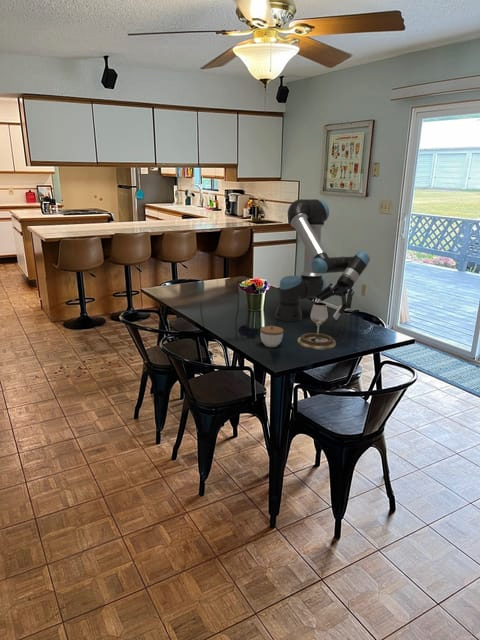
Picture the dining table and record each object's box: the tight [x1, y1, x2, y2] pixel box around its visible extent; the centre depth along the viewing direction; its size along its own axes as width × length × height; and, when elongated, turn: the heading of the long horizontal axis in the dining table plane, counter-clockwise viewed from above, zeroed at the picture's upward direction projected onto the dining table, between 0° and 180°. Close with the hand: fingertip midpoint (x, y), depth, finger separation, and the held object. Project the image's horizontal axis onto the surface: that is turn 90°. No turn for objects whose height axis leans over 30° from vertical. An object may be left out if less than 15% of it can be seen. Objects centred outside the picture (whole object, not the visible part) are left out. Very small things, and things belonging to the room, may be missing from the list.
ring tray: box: [297, 332, 337, 351], centre depth 227 cm, size 18×18×3 cm
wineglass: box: [309, 302, 329, 342], centre depth 224 cm, size 8×8×18 cm
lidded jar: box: [260, 325, 285, 348], centre depth 222 cm, size 11×11×9 cm
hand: (323, 314), depth 224 cm, fingers open, 13 cm apart
